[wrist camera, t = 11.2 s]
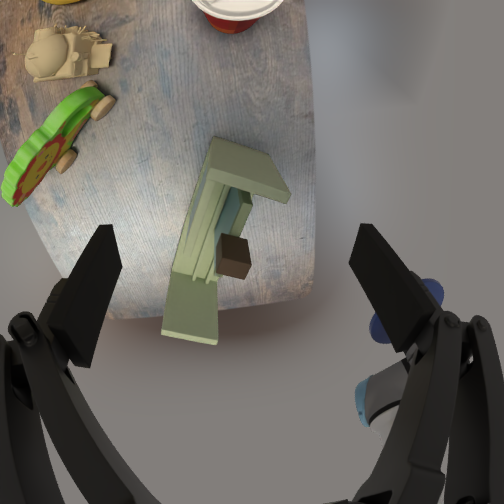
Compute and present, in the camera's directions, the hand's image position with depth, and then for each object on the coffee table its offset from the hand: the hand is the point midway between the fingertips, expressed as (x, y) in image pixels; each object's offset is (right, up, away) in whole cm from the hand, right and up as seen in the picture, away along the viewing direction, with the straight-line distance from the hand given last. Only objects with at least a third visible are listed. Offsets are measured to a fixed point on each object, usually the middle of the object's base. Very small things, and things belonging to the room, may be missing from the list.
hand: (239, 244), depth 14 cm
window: (-3, +7, +25) cm, 26 cm away
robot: (-22, +27, +10) cm, 36 cm away
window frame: (-5, +5, +28) cm, 29 cm away
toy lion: (-24, +17, +17) cm, 34 cm away
